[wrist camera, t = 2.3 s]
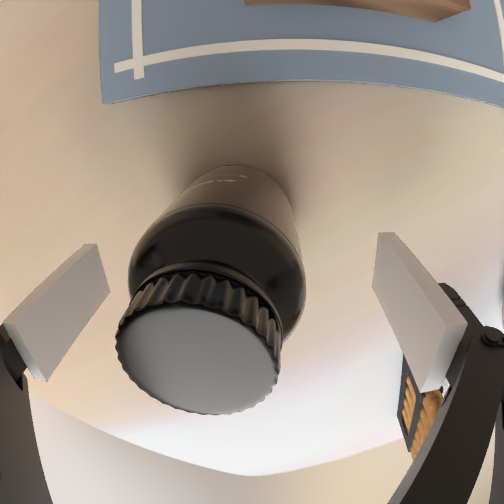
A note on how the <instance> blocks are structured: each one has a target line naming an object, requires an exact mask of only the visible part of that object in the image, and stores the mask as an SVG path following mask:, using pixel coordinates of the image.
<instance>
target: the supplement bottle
mask: <svg viewBox="0 0 504 504" xmlns="http://www.w3.org/2000/svg"><path fill="white" fill-rule="evenodd" d="M128 290H129V295H130V299H131V301H130V304H129V307H128V309H127V310H126V312H125V313H124V315H123V317H122V318H121V320H120V322H119V326H118V330H117V332H116V335H115V338H116V341H117V343H116V346H115V348H116V351H117V353H118V360H119V361H120V362H121V364H122V367H123V370H124V371H125V372H126V373H127V374H128V375H129V378H130V379H131V380H132V381H133V382H135V383H136V384H137V386H138V387H139V388H140V389H141V390H143V391H145V392H146V393H147V394H148V395H149V396H150V397H153V398H155V399H157V400H159V401H160V402H161V403H163V404H166V405H170V406H171V407H173V408H175V409H180V410H184V411H186V412H189V413H198V414H202V415H206V414H211V415H220V414H232V413H234V412H242V411H244V410H245V409H247V408H251V407H254V406H255V405H256V404H257V403H258V402H261V401H263V400H264V398H265V396H267V395H268V394H270V393H271V392H272V387H273V386H275V385H276V384H277V381H278V374H279V372H280V352H281V348H282V344H283V343H284V342H285V341H286V340H287V339H288V338H289V336H290V335H291V334H292V332H293V331H294V330H295V328H296V326H297V324H298V323H299V321H300V318H301V316H302V313H303V310H304V306H305V301H306V280H305V272H304V267H303V261H302V256H301V251H300V245H299V240H298V235H297V230H296V225H295V220H294V215H293V211H292V207H291V204H290V202H289V199H288V197H287V196H286V194H285V192H284V191H283V189H282V188H281V187H280V185H279V184H278V183H277V182H276V181H275V180H273V179H272V178H271V177H270V176H268V175H267V174H265V173H263V172H261V171H259V170H257V169H254V168H251V167H247V166H241V165H228V166H222V167H218V168H215V169H212V170H210V171H208V172H206V173H204V174H203V175H201V176H200V177H199V178H197V179H196V180H195V181H194V182H193V183H192V184H191V185H190V186H188V187H187V188H186V189H185V190H184V192H183V193H182V194H181V195H180V196H179V197H178V198H177V199H176V200H175V201H174V202H173V203H172V204H171V205H170V206H169V207H168V208H167V209H166V210H165V211H164V212H163V213H162V214H161V215H160V216H159V217H158V219H157V220H156V221H155V222H154V223H153V224H152V225H151V226H150V227H149V228H148V229H147V231H146V232H145V233H144V235H143V236H142V237H141V239H140V240H139V242H138V243H137V245H136V247H135V249H134V251H133V254H132V256H131V260H130V263H129V269H128Z"/></svg>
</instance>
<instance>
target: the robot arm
mask: <svg viewBox="0 0 504 504" xmlns="http://www.w3.org/2000/svg"><path fill="white" fill-rule="evenodd" d="M372 288H373V290H374V292H375V294H376V296H377V298H378V300H379V302H380V304H381V306H382V308H383V310H384V312H385V314H386V316H387V318H388V320H389V323H390V325H391V327H392V329H393V331H394V333H395V336H396V338H397V340H398V342H399V344H400V347H401V349H402V351H403V353H404V356H405V358H406V360H407V363H408V365H409V367H410V370H411V372H412V374H413V377H414V379H415V382H416V384H417V387H418V389H419V392H420V393H423V392H428V391H433V390H438V389H440V387H441V385H442V383H443V381H444V379H445V377H446V378H447V380H448V382H449V384H450V386H449V388H448V390H447V392H446V394H445V396H444V398H443V400H442V401H441V403H440V405H439V406H440V409H439V411H438V413H437V416H436V418H435V420H434V422H433V424H432V426H431V428H430V430H429V433H428V435H427V437H426V439H425V441H424V442H423V444H422V446H421V448H420V450H419V452H418V454H417V456H416V458H415V459H414V461H413V463H412V465H411V467H410V468H409V470H408V472H407V473H406V475H405V477H404V479H403V480H402V482H401V483H400V485H399V486H398V488H397V490H396V491H395V493H394V494H393V496H392V497H391V499H390V500H389V502H388V503H387V504H467V502H468V499H469V497H470V495H471V493H472V490H473V488H474V485H475V483H476V480H477V478H478V475H479V472H480V469H481V467H482V464H483V461H484V458H485V455H486V452H487V449H488V446H489V442H490V439H491V435H492V432H493V428H494V425H495V454H494V468H493V477H492V485H491V493H490V500H489V504H504V334H503V333H502V332H501V331H500V330H498V329H496V328H494V327H489V326H483V325H482V324H481V323H480V321H479V320H478V319H477V317H476V316H475V315H474V314H473V312H472V311H471V310H470V308H469V307H468V306H466V303H465V302H464V301H463V300H462V299H461V297H460V296H459V295H458V293H457V292H456V291H455V290H454V289H453V288H451V287H450V286H448V285H447V284H445V283H437V282H436V281H435V279H434V278H433V277H432V276H431V275H430V273H429V272H428V271H427V270H426V268H425V267H424V266H423V265H422V264H421V262H420V261H419V260H418V259H417V258H416V257H415V255H414V254H413V253H412V252H411V251H410V250H409V248H408V247H407V246H406V245H405V244H404V243H403V242H402V240H401V239H400V238H399V237H398V236H397V235H396V234H395V233H394V232H381V233H378V243H377V252H376V261H375V269H374V276H373V284H372ZM109 293H110V289H109V286H108V283H107V279H106V276H105V272H104V269H103V265H102V262H101V258H100V254H99V251H98V247H97V244H84V245H83V246H82V247H81V248H80V249H79V250H77V251H76V252H75V253H74V254H73V255H72V256H70V257H69V258H68V259H67V260H66V261H65V262H64V263H63V264H61V265H60V266H59V267H58V268H57V269H56V270H55V271H54V272H53V273H52V274H51V275H49V276H48V277H47V278H46V279H45V280H44V281H43V282H42V283H41V284H40V285H39V286H38V287H37V288H36V289H35V290H34V291H33V292H32V293H31V294H30V295H29V296H27V297H26V298H25V299H24V300H23V301H22V302H21V303H20V304H19V305H18V306H17V308H16V309H15V310H14V311H13V312H12V313H11V314H10V315H9V316H8V317H7V318H6V319H5V320H4V321H3V324H2V325H1V326H0V504H53V502H52V499H51V496H50V493H49V490H48V487H47V483H46V480H45V476H44V472H43V469H42V465H41V460H40V456H39V452H38V448H37V442H36V437H35V432H34V427H33V421H32V415H31V408H30V401H29V392H28V383H27V378H26V376H25V374H24V373H23V372H24V371H25V369H26V368H28V370H29V371H30V373H31V375H32V376H33V378H34V379H38V380H41V381H45V382H47V381H48V379H49V378H50V376H51V375H52V373H53V372H54V370H55V369H56V367H57V366H58V364H59V363H60V361H61V360H62V358H63V357H64V355H65V354H66V352H67V351H68V349H69V348H70V346H71V345H72V344H73V342H74V341H75V339H76V338H77V337H78V335H79V334H80V332H81V331H82V329H83V328H84V327H85V325H86V324H87V323H88V321H89V320H90V318H91V317H92V316H93V314H94V313H95V312H96V310H97V309H98V308H99V306H100V305H101V304H102V302H103V301H104V300H105V298H106V297H107V296H108V294H109Z"/></svg>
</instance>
